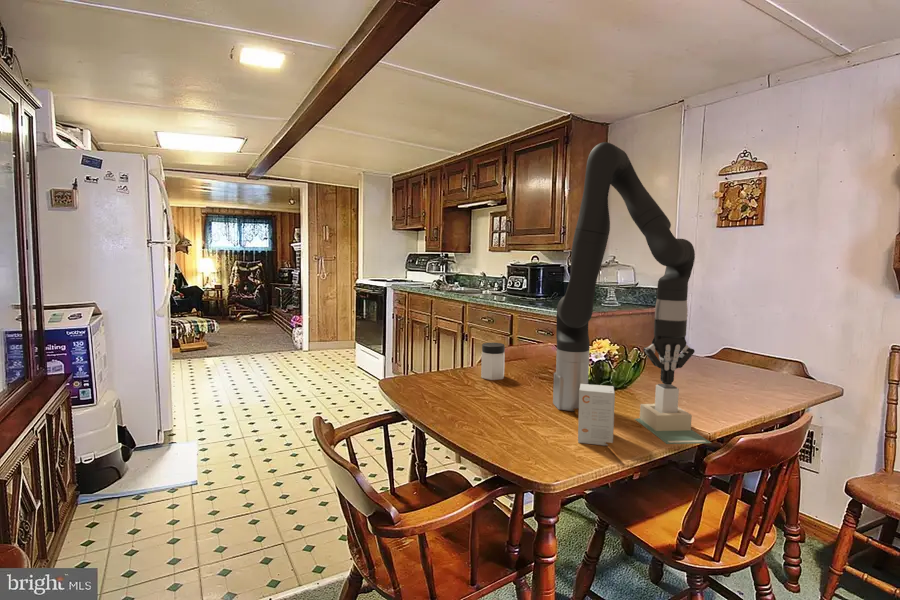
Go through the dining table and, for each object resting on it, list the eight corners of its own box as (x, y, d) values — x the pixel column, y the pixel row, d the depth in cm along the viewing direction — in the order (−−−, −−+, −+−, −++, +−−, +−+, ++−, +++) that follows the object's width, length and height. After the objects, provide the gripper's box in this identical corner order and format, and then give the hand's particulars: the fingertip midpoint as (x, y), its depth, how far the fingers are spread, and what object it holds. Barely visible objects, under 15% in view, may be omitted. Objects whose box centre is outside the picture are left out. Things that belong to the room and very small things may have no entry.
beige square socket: (656, 430, 120) (656, 415, 120) (638, 417, 130) (639, 403, 130) (690, 430, 121) (691, 414, 121) (670, 417, 131) (671, 402, 130)
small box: (612, 437, 119) (614, 385, 118) (613, 447, 113) (615, 393, 111) (578, 433, 121) (580, 382, 120) (577, 443, 115) (579, 389, 114)
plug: (661, 427, 123) (663, 387, 122) (652, 420, 128) (654, 382, 127) (676, 426, 123) (678, 387, 122) (667, 420, 128) (669, 382, 127)
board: (666, 447, 113) (666, 443, 112) (634, 422, 129) (634, 418, 129) (711, 447, 113) (711, 442, 113) (673, 421, 130) (673, 417, 130)
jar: (509, 377, 175) (510, 344, 173) (496, 381, 169) (496, 347, 167) (489, 372, 181) (490, 341, 179) (476, 377, 174) (476, 344, 173)
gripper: (687, 315, 127) (683, 379, 128) (638, 315, 126) (635, 380, 128) (704, 319, 119) (699, 387, 121) (652, 319, 118) (648, 388, 120)
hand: (666, 383), depth 124 cm, fingers closed
